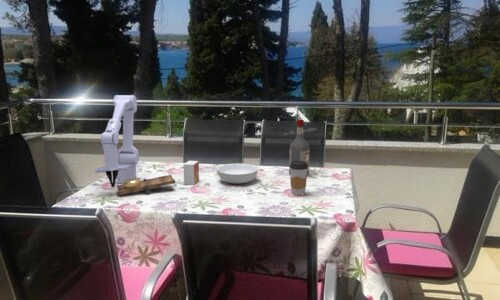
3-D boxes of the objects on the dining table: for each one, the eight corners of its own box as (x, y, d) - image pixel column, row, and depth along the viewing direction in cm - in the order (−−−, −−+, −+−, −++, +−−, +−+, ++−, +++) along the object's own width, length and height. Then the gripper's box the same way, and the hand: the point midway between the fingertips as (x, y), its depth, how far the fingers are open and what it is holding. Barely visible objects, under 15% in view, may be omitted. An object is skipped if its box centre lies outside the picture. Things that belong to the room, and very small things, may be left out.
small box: (194, 185, 214) (193, 164, 212) (183, 184, 215) (183, 164, 213) (199, 180, 222) (199, 160, 220) (189, 180, 223) (188, 160, 221)
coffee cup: (308, 192, 203) (309, 161, 200) (305, 197, 195) (305, 165, 192) (291, 190, 206) (292, 159, 202) (287, 195, 198) (287, 164, 195)
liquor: (287, 175, 230) (288, 120, 224) (295, 172, 238) (296, 118, 232) (303, 178, 226) (304, 121, 219) (310, 174, 233) (311, 119, 227)
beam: (118, 195, 196) (118, 191, 195) (117, 188, 205) (116, 185, 205) (175, 183, 204) (174, 179, 203) (171, 177, 213) (171, 174, 213)
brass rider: (124, 190, 197) (123, 184, 196) (123, 185, 205) (122, 180, 204) (142, 187, 200) (140, 181, 199) (140, 182, 207) (139, 176, 206)
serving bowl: (210, 184, 215) (209, 171, 214) (227, 174, 234) (227, 161, 233) (248, 189, 208) (248, 175, 206) (263, 178, 227) (263, 165, 225)
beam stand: (145, 194, 199) (145, 185, 198) (142, 187, 210) (142, 178, 209) (150, 194, 200) (149, 185, 199) (147, 187, 211) (146, 178, 210)
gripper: (94, 161, 190) (96, 190, 193) (128, 158, 195) (129, 187, 198) (94, 157, 196) (96, 186, 199) (126, 155, 201) (128, 183, 204)
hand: (112, 186), depth 199 cm, fingers closed
